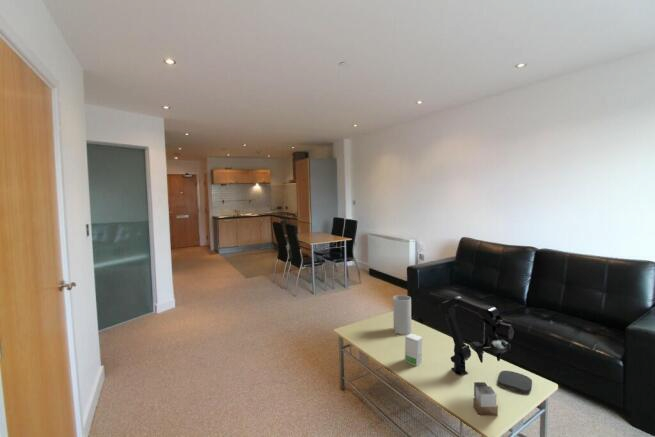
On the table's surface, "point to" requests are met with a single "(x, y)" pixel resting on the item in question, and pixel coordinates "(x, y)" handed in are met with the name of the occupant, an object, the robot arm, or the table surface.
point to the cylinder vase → (402, 314)
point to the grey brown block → (485, 401)
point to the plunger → (478, 385)
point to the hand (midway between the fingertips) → (489, 361)
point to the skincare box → (413, 349)
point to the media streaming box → (515, 381)
